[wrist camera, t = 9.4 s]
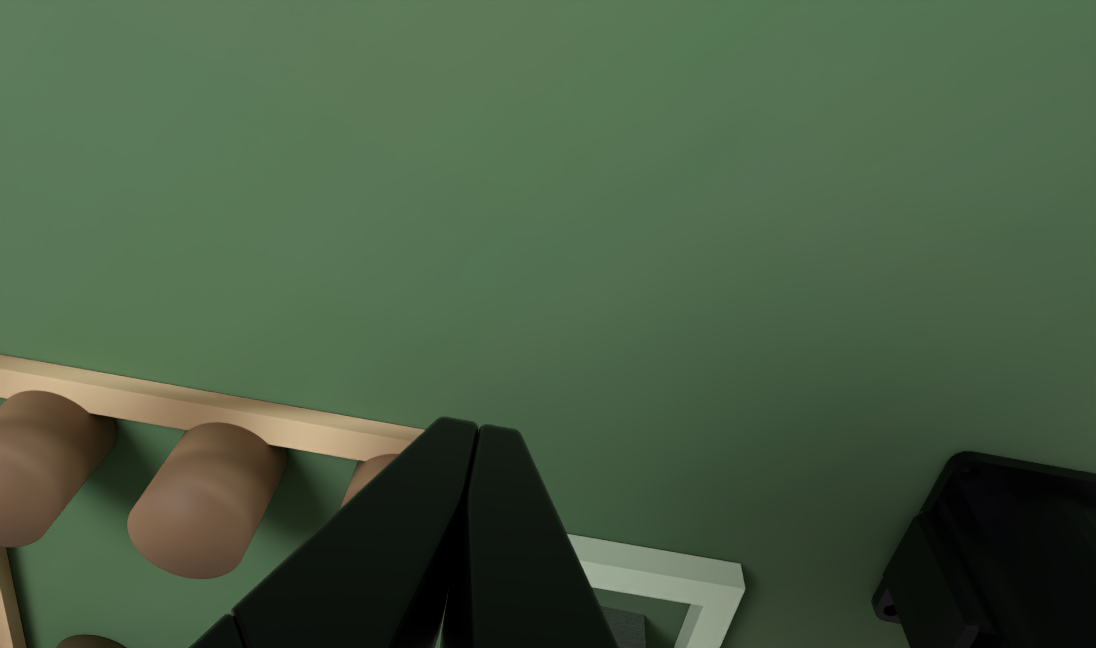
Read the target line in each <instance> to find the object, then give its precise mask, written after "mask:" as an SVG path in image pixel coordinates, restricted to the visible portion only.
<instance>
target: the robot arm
mask: <svg viewBox="0 0 1096 648" xmlns="http://www.w3.org/2000/svg"><path fill="white" fill-rule="evenodd" d="M477 435H478V436H477ZM967 468H972V469H971V470H970V471H967V472H963V470H965V469H967ZM450 579H451V580H450ZM448 590H449V591H448ZM447 595H448V597H447ZM446 600H447V602H446ZM871 602H872V605H873V608H874V611H875V614H876V616H877V617H878V618H879V619H881V620H884V621H887V622H893V623H899V624H901V625H902V627H903V630H904V633H905V635H906V638H907V640H908V643H909V646H910V648H1096V474H1093V473H1088V472H1082V471H1077V470H1071V469H1066V468H1060V467H1055V466H1049V465H1044V464H1038V463H1033V462H1027V461H1022V460H1016V459H1011V458H1005V457H1000V456H994V455H989V454H983V453H978V452H972V451H964V452H961V453H957V454H956V455H954V456H952V457H951V458H950V459H949V461H948V462H947V463H946V465H945V467H944V469H943V471H942V472H941V474H940V476H939V478H938V480H937V481H936V483H935V485H934V487H933V489H932V490H931V492H930V494H929V496H928V498H927V500H926V501H925V503H924V505H923V507H922V509H921V510H920V512H919V514H917V515H916V516H915V517H914V519H913V520H912V522H911V524H910V526H909V528H908V529H907V531H906V533H905V535H904V537H903V539H902V540H901V542H900V544H899V546H898V548H897V549H896V551H895V553H894V555H893V557H892V559H891V560H890V562H889V564H888V566H887V568H886V569H885V571H884V573H883V579H882V581H881V583H880V585H879V586H878V588H877V590H876V592H875V594H874V595H873V597H872V601H871ZM445 605H446V608H445ZM888 605H889V606H888ZM444 610H445V614H444ZM443 615H444V620H443V626H442V632H441V642H440V648H619V646H618V643H617V641H616V639H615V637H614V635H613V633H612V630H611V628H610V626H609V624H608V622H607V620H606V617H605V615H604V613H603V611H602V609H601V607H600V604H599V602H598V600H597V598H596V596H595V594H594V591H593V589H592V587H591V585H590V583H589V580H588V578H587V576H586V574H585V572H584V570H583V567H582V565H581V563H580V561H579V559H578V557H577V554H576V552H575V550H574V548H573V546H572V544H571V541H570V539H569V537H568V535H567V533H566V531H565V528H564V526H563V524H562V522H561V520H560V518H559V515H558V513H557V511H556V509H555V507H554V505H553V502H552V500H551V498H550V496H549V494H548V492H547V489H546V487H545V485H544V483H543V481H542V479H541V476H540V474H539V472H538V470H537V468H536V465H535V463H534V461H533V459H532V457H531V455H530V452H529V450H528V448H527V446H526V444H525V442H524V439H523V437H522V435H521V434H520V432H519V431H518V430H516V429H512V428H506V427H501V426H495V425H489V424H484V425H482V426H481V427H480V429H479V432H478V425H477V424H476V423H475V422H473V421H467V420H462V419H456V418H451V417H440V418H438V419H437V420H436V421H435V422H433V423H432V424H431V425H430V426H429V427H428V428H427V429H426V430H425V431H424V432H423V433H422V434H420V435H419V436H418V437H417V438H416V439H415V440H414V441H413V442H412V443H411V444H410V445H409V446H407V447H406V448H405V449H404V450H403V451H402V452H401V453H400V454H399V455H398V456H397V457H396V458H394V459H393V460H392V461H391V462H390V463H389V464H388V465H387V466H386V467H385V468H384V469H383V470H381V471H380V472H379V473H378V474H377V475H376V476H375V477H374V478H373V479H372V480H371V481H370V482H368V483H367V484H366V485H365V486H364V487H363V488H362V489H361V490H360V491H359V492H358V493H357V494H355V495H354V496H353V497H352V498H351V499H350V500H349V501H348V502H347V503H346V504H345V505H344V506H342V507H341V508H340V509H339V510H338V511H337V512H336V513H335V514H334V515H333V516H332V517H331V518H329V519H328V520H327V521H326V522H325V523H324V524H323V525H322V526H321V527H320V528H319V529H318V530H316V531H315V532H314V533H313V534H312V535H311V536H310V537H309V538H308V539H307V540H306V541H305V542H303V543H302V544H301V545H300V546H299V547H298V548H297V549H296V550H295V551H294V552H293V553H292V554H290V555H289V556H288V557H287V558H286V559H285V560H284V561H283V562H282V563H281V564H280V565H279V566H277V567H276V568H275V569H274V570H273V571H272V572H271V573H270V574H269V575H268V576H267V577H266V578H264V579H263V580H262V581H261V582H260V583H259V584H258V585H257V586H256V587H255V588H254V589H253V590H251V591H250V592H249V593H248V594H247V595H246V596H245V597H244V598H243V599H242V600H241V601H240V602H238V603H237V604H236V605H235V606H234V607H233V608H232V610H231V615H230V614H226V615H224V616H223V617H222V618H220V619H219V620H218V621H217V622H216V623H215V624H214V625H213V626H212V627H211V628H210V629H209V630H208V631H207V632H205V633H204V634H203V635H202V636H201V637H200V638H199V639H198V640H197V641H196V642H195V643H194V644H193V645H191V646H190V647H189V648H435V646H436V643H437V640H438V636H439V633H440V628H441V624H442V619H443Z"/></svg>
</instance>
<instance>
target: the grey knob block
mask: <svg viewBox="0 0 1096 648" xmlns="http://www.w3.org/2000/svg"><path fill="white" fill-rule="evenodd" d="M600 607H601V609H602V611H603V613H604V615H605V617H606V620H607V622H608V624H609V626H610V628H611V630H612V633H613V635H614V637H615V639H616V641H617V643H618V646H619V648H646V639H645V622H644V615H641V614H636V613H631V612H627V611H622V610H617V609H612V608H607V607H603V606H600Z"/></svg>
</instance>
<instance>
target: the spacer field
mask: <svg viewBox="0 0 1096 648" xmlns="http://www.w3.org/2000/svg"><path fill="white" fill-rule="evenodd" d="M0 397H1V398H7V400H6V401H5V402H4V403H3V404H2V405H1V406H0V648H26V643H25V638H24V633H23V628H22V624H21V619H20V614H19V609H18V604H17V599H16V594H15V589H14V585H13V580H12V575H11V570H10V565H9V560H8V555H7V551H6V547H21V546H26V545H29V544H32V543H34V542H36V541H37V540H39V539H40V538H41V537H42V536H43V535H44V534H45V532H46V531H47V530H48V529H49V527H50V526H51V525H52V524H53V522H54V521H55V520H56V518H57V517H58V516H59V515H60V513H61V512H62V511H63V510H64V508H65V507H66V506H67V504H68V503H69V502H70V501H71V499H72V498H73V497H74V496H75V494H76V493H77V492H78V491H79V489H80V488H81V487H82V485H83V484H84V483H85V482H86V480H87V479H88V478H89V477H90V475H91V474H92V473H93V471H94V470H95V469H96V468H97V466H98V465H99V464H100V463H101V461H102V460H103V459H104V458H105V456H106V455H107V454H108V452H109V451H110V450H111V449H112V447H113V445H114V443H115V440H116V426H115V422H114V419H113V417H115V418H121V419H127V420H133V421H138V422H144V423H150V424H155V425H161V426H167V427H173V428H178V429H184V430H186V432H185V433H184V434H183V436H182V437H181V439H180V440H179V442H178V443H177V445H176V446H175V448H174V449H173V450H172V452H171V453H170V455H169V456H168V458H167V459H166V461H165V462H164V464H163V465H162V466H161V468H160V469H159V471H158V472H157V474H156V475H155V477H154V478H153V480H152V481H151V482H150V484H149V485H148V487H147V488H146V490H145V491H144V493H143V494H142V496H141V497H140V499H139V500H138V501H137V503H136V504H135V506H134V507H133V509H132V510H131V512H130V514H129V517H128V522H127V528H128V533H129V536H130V539H131V541H132V543H133V544H134V546H135V547H136V549H137V550H138V551H139V552H140V553H141V554H142V555H143V556H144V557H145V558H146V559H147V560H148V561H150V562H151V563H152V564H154V565H156V566H157V567H159V568H161V569H163V570H165V571H167V572H169V573H172V574H175V575H178V576H182V577H186V578H193V579H210V578H216V577H219V576H223V575H225V574H227V573H229V572H230V571H232V570H233V569H235V568H236V567H237V566H238V564H239V563H240V562H241V560H242V558H243V556H244V554H245V552H246V550H247V548H248V545H249V543H250V541H251V539H252V537H253V535H254V533H255V531H256V529H257V527H258V525H259V523H260V521H261V519H262V517H263V515H264V513H265V511H266V509H267V507H268V505H269V503H270V501H271V498H272V496H273V494H274V492H275V490H276V488H277V486H278V484H279V482H280V480H281V478H282V476H283V474H284V472H285V470H286V467H287V461H288V457H287V451H286V448H285V447H287V448H293V449H298V450H304V451H310V452H315V453H321V454H327V455H333V456H338V457H344V458H350V459H355V460H359V461H358V463H357V466H356V468H355V471H354V473H353V476H352V479H351V481H350V484H349V487H348V489H347V492H346V494H345V497H344V500H343V502H342V505H341V507H342V506H344V505H345V504H346V503H347V502H348V501H349V500H350V499H351V498H352V497H353V496H354V495H355V494H357V493H358V492H359V491H360V490H361V489H362V488H363V487H364V486H365V485H366V484H367V483H368V482H370V481H371V480H372V479H373V478H374V477H375V476H376V475H377V474H378V473H379V472H380V471H381V470H383V469H384V468H385V467H386V466H387V465H388V464H389V463H390V462H391V461H392V460H393V459H394V458H396V457H397V456H398V455H399V454H400V453H401V452H402V451H403V450H404V449H405V448H406V447H407V446H409V445H410V444H411V443H412V442H413V441H414V440H415V439H416V438H417V437H418V436H419V435H420V434H422V433H423V432H424V431H425V430H423V429H417V428H411V427H406V426H400V425H394V424H389V423H383V422H378V421H372V420H366V419H361V418H355V417H349V416H344V415H338V414H332V413H327V412H321V411H316V410H310V409H304V408H299V407H293V406H287V405H282V404H276V403H270V402H265V401H259V400H254V399H248V398H242V397H237V396H231V395H225V394H220V393H214V392H208V391H203V390H197V389H192V388H186V387H180V386H175V385H169V384H163V383H158V382H152V381H146V380H141V379H135V378H130V377H124V376H118V375H113V374H107V373H101V372H96V371H90V370H84V369H79V368H73V367H68V366H62V365H56V364H51V363H45V362H39V361H34V360H28V359H22V358H17V357H11V356H6V355H0ZM57 648H124V647H122V646H121V645H119V644H117V643H115V642H113V641H111V640H108V639H105V638H102V637H98V636H91V635H77V636H72V637H69V638H66V639H64V640H63V641H62V642H61V643H59V645H58V646H57Z"/></svg>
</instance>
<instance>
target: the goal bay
mask: <svg viewBox="0 0 1096 648" xmlns="http://www.w3.org/2000/svg"><path fill="white" fill-rule="evenodd" d="M567 535H568V537H569V539H570V541H571V544H572V546H573V548H574V550H575V552H576V554H577V557H578V559H579V561H580V563H581V565H582V567H583V570H584V572H585V574H586V576H587V578H588V580H589V583H590V585H591V587H594V588H600V589H606V590H612V591H618V592H623V593H629V594H635V595H641V596H647V597H653V598H659V599H665V600H670V601H676V602H682V603H688V604H691V605H690V607H689V610H688V613H687V615H686V618H685V620H684V623H683V625H682V628H681V630H680V633H679V635H678V638H677V640H676V643H675V646H674V648H720V646H721V644H722V641H723V639H724V637H725V635H726V632H727V630H728V628H729V625H730V623H731V621H732V619H733V616H734V614H735V612H736V609H737V607H738V605H739V603H740V600H741V598H742V596H743V593H744V591H745V584H744V579H743V574H742V569H741V564H739V563H733V562H727V561H722V560H716V559H710V558H704V557H698V556H693V555H687V554H681V553H675V552H669V551H664V550H658V549H652V548H646V547H641V546H635V545H629V544H623V543H617V542H612V541H606V540H600V539H594V538H589V537H583V536H577V535H571V534H567Z"/></svg>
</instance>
